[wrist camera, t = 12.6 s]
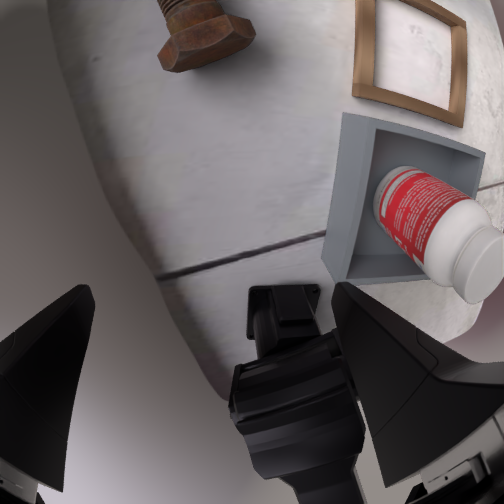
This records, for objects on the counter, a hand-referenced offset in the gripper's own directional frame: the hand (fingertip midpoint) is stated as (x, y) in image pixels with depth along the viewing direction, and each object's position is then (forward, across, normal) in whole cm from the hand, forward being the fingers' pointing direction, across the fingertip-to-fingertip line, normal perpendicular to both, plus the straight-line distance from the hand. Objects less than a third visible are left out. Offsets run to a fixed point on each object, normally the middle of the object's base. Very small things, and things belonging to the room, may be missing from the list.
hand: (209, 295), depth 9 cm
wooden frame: (+12, -15, -13) cm, 23 cm away
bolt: (+12, +3, -16) cm, 21 cm away
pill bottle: (+12, -15, 0) cm, 19 cm away
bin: (+12, -15, 0) cm, 19 cm away
